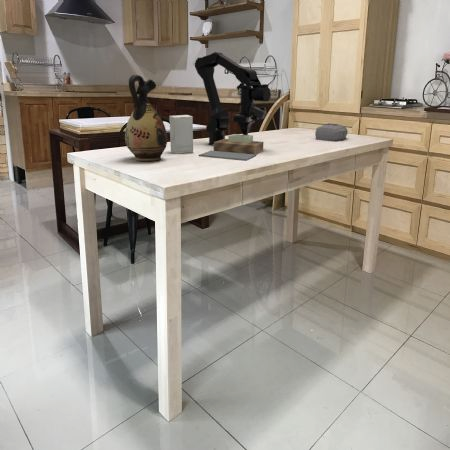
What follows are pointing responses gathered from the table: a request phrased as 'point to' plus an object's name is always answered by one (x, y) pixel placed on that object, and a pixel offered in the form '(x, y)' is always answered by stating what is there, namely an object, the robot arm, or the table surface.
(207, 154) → the charcoal mat
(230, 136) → the sage tile
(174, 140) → the skincare box
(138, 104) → the ceramic jug
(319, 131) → the soft grey pack
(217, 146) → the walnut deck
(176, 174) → the table surface
